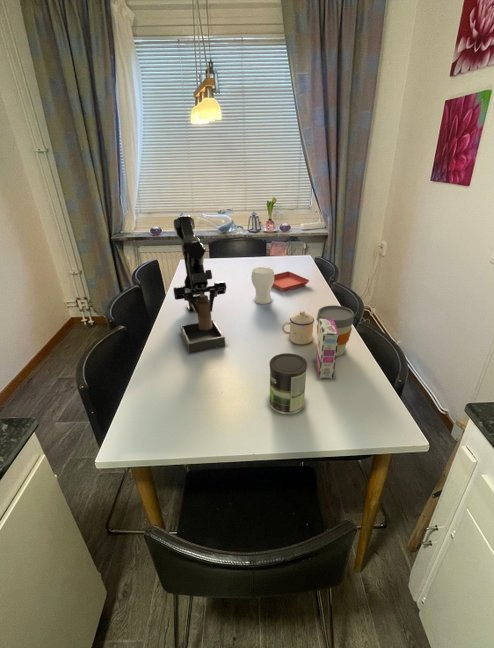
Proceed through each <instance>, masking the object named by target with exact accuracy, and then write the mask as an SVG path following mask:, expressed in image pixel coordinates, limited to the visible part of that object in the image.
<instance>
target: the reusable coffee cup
mask: <svg viewBox="0 0 494 648" xmlns="http://www.w3.org/2000/svg"><path fill="white" fill-rule="evenodd" d="M316 315H317V316H316V321H317V324H316V337H317V338H318V328H319V319H334V322H335V324H336V327H337V330H338V333H339V340H338V347H337V354H336V357H339V356H342V355H343V354H344V353H345V350H346V346H347V343H349V340H350V337H351V333H352V329H353V328H352V326H353V324H354V321H355V319H354V317H355V313H354V311H353V310H352V309H351V308H349V307H346V306H342V305H335V304H334V305H325V306H322V307H320V308H319V309H318V311H317V314H316Z"/></svg>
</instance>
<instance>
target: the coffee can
mask: <svg viewBox="0 0 494 648" xmlns="http://www.w3.org/2000/svg"><path fill="white" fill-rule="evenodd" d="M307 369H308V361H307V360H306V358H305V357H304V356H301V355H299V354H296V353H292V352H291V353H289V352H288V353H287V352H286V353H285V352H284V353H279V354H277V355H274V356H273V357H272V358H270V360H269V400H268V402H269V406H270V408H271V409H272V410H273V411H274V412H276V413H279V414H281V415H294V414H297V413H299V412H301V411H302V410H303V409H304V407H305V396H306V395H305V393H306V381H307Z"/></svg>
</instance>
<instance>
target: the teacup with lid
mask: <svg viewBox="0 0 494 648" xmlns="http://www.w3.org/2000/svg"><path fill="white" fill-rule="evenodd" d="M314 322H315V317H314V316H313V315H312V314H310V313H307V312H306V311H305V310H300V311H299V312H296V313H293V314H292V315H290V317H289V321H285V322H284V323H283V324H282V325H281V331H282V332H283V333H284V334H286V335H289V340H290V341H291V342H292V343H293V344H296V345H307V344H310V343H311V342H312V341H313V333H314ZM286 325H289V331H286V330H285V326H286Z"/></svg>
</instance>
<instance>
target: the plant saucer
mask: <svg viewBox="0 0 494 648" xmlns="http://www.w3.org/2000/svg"><path fill="white" fill-rule="evenodd" d="M308 283H310V279H308V278H305V277H303V276H301V275H299V274H296V273H294V272H292V271H287V270H286V271H284V272H279V273H274V283H273V286H272V287H273V288H275V289H277V290H279V291H281V292H287V291H290V290H294V289H297V288H301V287H304V286H306V285H307V284H308Z"/></svg>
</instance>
